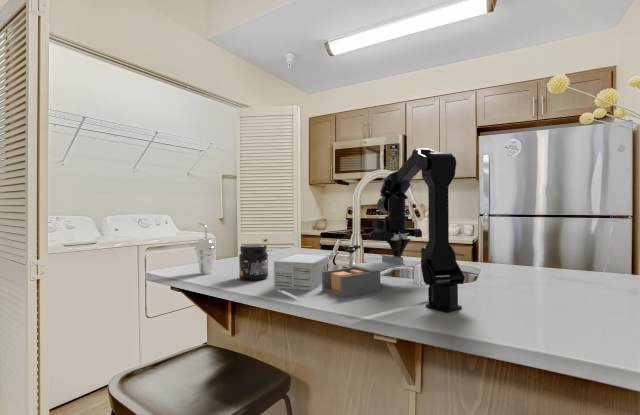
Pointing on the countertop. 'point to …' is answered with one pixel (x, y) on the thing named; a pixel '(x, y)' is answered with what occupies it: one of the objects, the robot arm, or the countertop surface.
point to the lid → (381, 263)
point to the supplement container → (253, 262)
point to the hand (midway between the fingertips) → (397, 260)
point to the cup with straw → (205, 253)
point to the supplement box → (299, 272)
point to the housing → (352, 282)
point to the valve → (350, 252)
